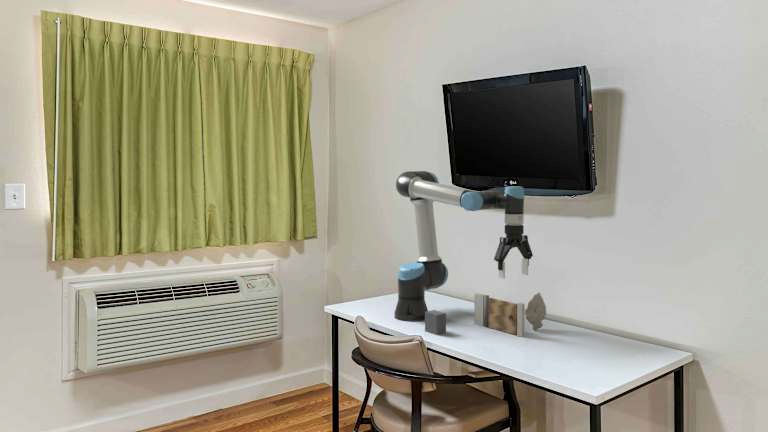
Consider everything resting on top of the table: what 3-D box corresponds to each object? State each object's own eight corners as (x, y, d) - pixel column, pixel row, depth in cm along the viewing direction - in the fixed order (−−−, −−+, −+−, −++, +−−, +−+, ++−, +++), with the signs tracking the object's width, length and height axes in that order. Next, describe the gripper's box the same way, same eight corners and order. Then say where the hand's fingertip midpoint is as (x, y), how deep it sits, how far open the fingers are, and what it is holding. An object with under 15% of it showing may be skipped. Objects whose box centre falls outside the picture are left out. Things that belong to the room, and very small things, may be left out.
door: (486, 327, 243) (486, 298, 242) (490, 326, 244) (490, 297, 243) (514, 335, 231) (514, 305, 230) (518, 334, 233) (518, 304, 232)
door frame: (473, 323, 250) (474, 293, 249) (477, 323, 251) (477, 292, 250) (521, 337, 229) (521, 304, 228) (524, 336, 231) (525, 303, 230)
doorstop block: (425, 331, 239) (424, 311, 239) (434, 329, 242) (434, 310, 242) (436, 335, 234) (436, 315, 233) (445, 332, 237) (445, 313, 236)
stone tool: (529, 332, 235) (529, 295, 234) (522, 330, 239) (523, 294, 237) (549, 329, 241) (550, 292, 240) (543, 327, 244) (543, 291, 243)
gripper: (499, 226, 230) (498, 281, 231) (541, 223, 244) (541, 274, 246) (485, 225, 236) (484, 278, 237) (527, 222, 250) (527, 271, 252)
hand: (513, 276), depth 241 cm, fingers open, 13 cm apart
